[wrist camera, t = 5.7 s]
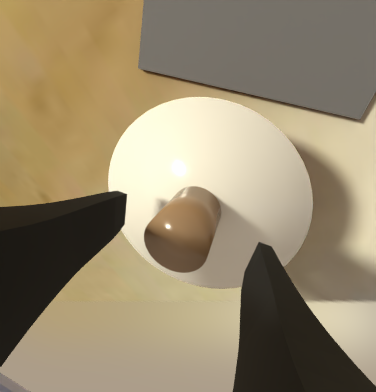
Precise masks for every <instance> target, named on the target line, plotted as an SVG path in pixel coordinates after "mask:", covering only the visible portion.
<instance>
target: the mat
mask: <svg viewBox="0 0 376 392" xmlns="http://www.w3.org/2000/svg"><path fill="white" fill-rule="evenodd" d="M138 68H139V69H142V70H146V71H151V72H155V73H159V74H164V75H168V76H172V77H177V78H181V79H185V80H189V81H194V82H198V83H202V84H207V85H211V86H215V87H220V88H224V89H228V90H233V91H237V92H241V93H246V94H250V95H254V96H259V97H263V98H267V99H272V100H276V101H280V102H285V103H289V104H293V105H297V106H302V107H306V108H310V109H315V110H319V111H323V112H328V113H332V114H336V115H341V116H345V117H349V118H354V119H359V120H360V119H361V117H362V115H363V114H364V112H365V110H366V108H367V107H368V105H369V103H370V101H371V100H372V98H373V96H374V94H375V93H376V0H144V6H143V18H142V29H141V41H140V53H139V65H138Z"/></svg>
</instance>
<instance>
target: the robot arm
mask: <svg viewBox="0 0 376 392" xmlns="http://www.w3.org/2000/svg"><path fill="white" fill-rule="evenodd" d="M126 203H127V194H125V193H123V192H120V191H111V192H105V193H100V194H95V195H91V196H86V197H81V198H76V199H70V200H65V201H59V202H53V203H46V204H37V205H27V206H11V207H0V367H1V366H2V365H3V363H4V362H5V360H6V359H7V358H8V356H9V355H10V354H11V352H12V351H13V350H14V348H15V347H16V345H17V344H18V343H19V342H20V340H21V339H22V338H23V336H24V335H25V334H26V332H27V331H28V330H29V328H30V327H31V326H32V325H33V323H34V322H35V321H36V320H37V318H38V317H39V316H40V315H41V313H42V312H43V311H44V310H45V308H46V307H47V306H48V305H49V303H50V302H51V301H52V300H53V299H54V298H55V297H56V295H57V294H58V293H59V292H60V291H61V289H62V288H63V287H64V286H65V285H66V284H67V283H68V282H69V281H70V279H71V278H72V277H73V276H74V275H75V274H76V273H77V272H78V271H79V270H80V269H81V268H82V267H83V266H84V265H85V264H86V263H87V262H88V261H90V260H91V259H92V258H93V257H94V256H95V255H96V254H97V253H98V252H99V251H100V250H101V249H103V248H104V247H105V246H106V245H107V244H108V243H109V242H110V241H111V240H112V239H113V238H114V237H115V236H116V235H117V234H118V232H119V231H120V230H121V229H122V227H123V226H124V225H125V215H126ZM0 392H30V391H29V390H27V389H25V388H24V387H22V386H21V385H19V384H17V383H16V382H14V381H12V380H11V379H9V378H8V377H6V376H5V375H3V374H1V373H0ZM233 392H376V386H375V385H374V384H373V383H372V382H371V381H370V380H369V379H368V378H367V377H366V376H365V375H364V373H363V372H362V371H361V370H360V369H359V368H358V367H357V366H356V365H355V364H354V363H353V361H352V360H351V359H350V358H349V357H348V356H347V354H346V353H345V352H344V351H343V350H342V349H341V348H340V346H339V345H338V344H337V343H336V342H335V341H334V339H333V338H332V337H331V336H330V335H329V333H328V332H327V331H326V330H325V328H324V327H323V326H322V324H321V323H320V322H319V320H318V319H317V318H316V316H315V315H314V314H313V313H312V311H311V310H310V308H309V307H308V306H307V304H306V303H305V301H304V300H303V298H302V297H301V295H300V294H299V292H298V291H297V289H296V287H295V286H294V284H293V283H292V281H291V279H290V278H289V276H288V274H287V273H286V271H285V269H284V267H283V266H282V264H281V262H280V260H279V259H278V257H277V255H276V253H275V251H274V250H273V248H272V246H269V245H266V244H264V243H261V242H258V244H257V247H256V249H255V251H254V253H253V255H252V257H251V259H250V261H249V263H248V265H247V267H246V269H245V272H244V277H243V283H242V289H241V309H240V339H239V352H238V359H237V366H236V374H235V381H234V388H233Z"/></svg>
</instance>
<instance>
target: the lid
mask: <svg viewBox="0 0 376 392" xmlns="http://www.w3.org/2000/svg"><path fill="white" fill-rule="evenodd" d="M108 186H109V192H111V191H120V192H123V193H125V194H127V203H126V215H125V225H124V226H123V227H122V229H121V230H122V232H123V234H124V235H125V237H126V238H127V240H128V241H129V242H130V244H131V245H132V246H133V247H134V248H135V250H136V251H137V252H138V253H139V254H140V255H141V256H142V257H143V258H144V259H146V260H147V261H148V262H149V263H150V264H152V265H153V266H155V267H156V268H157V269H159V270H160V271H162V272H164V273H166V274H167V275H169V276H171V277H173V278H175V279H178V280H180V281H183V282H186V283H189V284H192V285H196V286H200V287H207V288H219V289H225V288H237V287H242V283H243V277H244V272H245V269H246V267H247V265H248V263H249V261H250V259H251V257H252V255H253V253H254V251H255V249H256V247H257V244H258V242H261V243H264V244H266V245H269V246H272V248H273V250H274V251H275V253H276V255H277V257H278V259H279V260H280V262H281V264H282V266H283V267H284V266H286V265H287V264H288V263H289V262H290V260H291V259H292V258H293V257H294V256H295V255H296V253H297V252H298V250H299V249H300V248H301V246H302V244H303V242H304V240H305V238H306V236H307V234H308V231H309V227H310V224H311V220H312V211H313V195H312V188H311V183H310V179H309V175H308V172H307V170H306V167H305V165H304V162H303V160H302V158H301V157H300V155H299V153H298V152H297V150H296V148H295V147H294V145H293V144H292V143H291V142H290V141H289V139H288V138H287V137H286V136H285V134H284V133H283V132H282V131H281V130H280V129H278V128H277V127H276V126H275V125H274V124H273V123H272V122H271V121H270V120H268V119H267V118H265V117H263V116H262V115H260V114H259V113H257V112H256V111H254V110H252V109H249V108H247V107H245V106H243V105H241V104H238V103H234V102H231V101H227V100H224V99H217V98H210V97H188V98H182V99H176V100H172V101H169V102H166V103H163V104H160V105H158V106H156V107H154V108H153V109H151V110H149V111H147V112H146V113H144V114H143V115H142V116H140V117H139V118H137V119H136V120H135V121H134V122H133V123H132V124H131V125H130V126H129V127H128V129H127V130H126V131H125V133H124V134H123V135H122V137H121V138H120V140H119V142H118V144H117V146H116V148H115V150H114V153H113V156H112V159H111V163H110V168H109V178H108Z"/></svg>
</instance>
